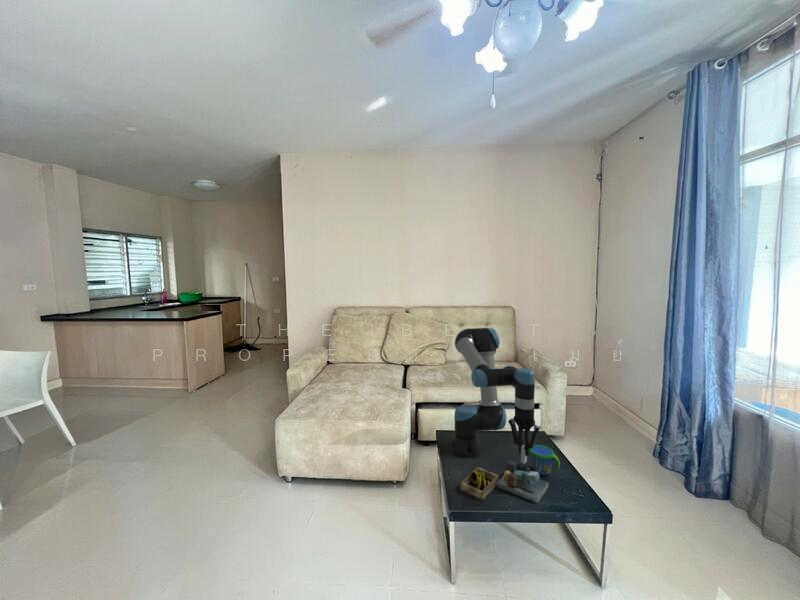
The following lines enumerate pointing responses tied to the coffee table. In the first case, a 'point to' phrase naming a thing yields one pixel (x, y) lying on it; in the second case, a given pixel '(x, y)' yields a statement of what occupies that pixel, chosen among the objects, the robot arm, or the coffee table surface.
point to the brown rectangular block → (512, 479)
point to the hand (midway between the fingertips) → (523, 461)
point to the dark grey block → (512, 466)
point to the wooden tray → (476, 492)
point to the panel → (525, 487)
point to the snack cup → (542, 459)
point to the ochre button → (506, 474)
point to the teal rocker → (528, 475)
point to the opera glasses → (479, 480)
